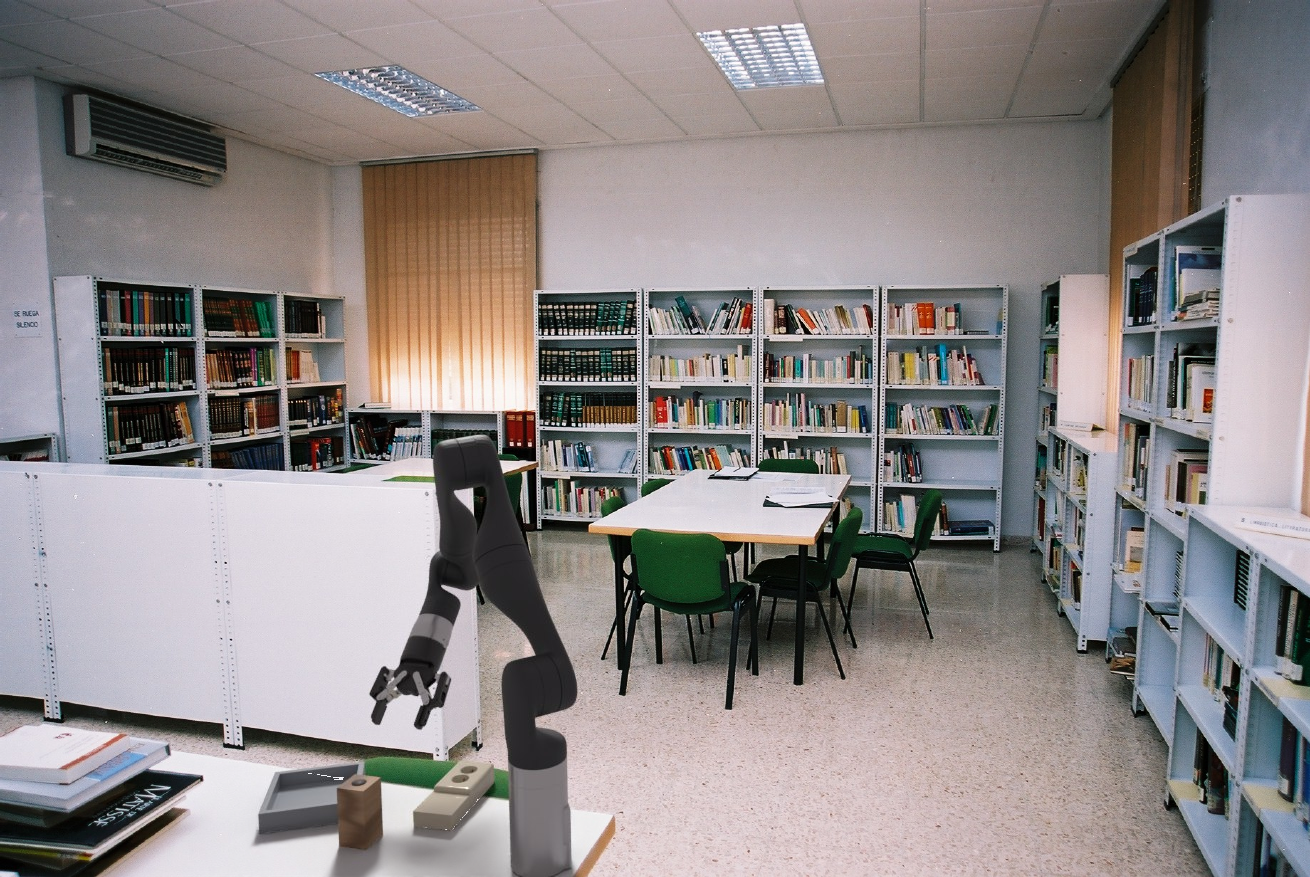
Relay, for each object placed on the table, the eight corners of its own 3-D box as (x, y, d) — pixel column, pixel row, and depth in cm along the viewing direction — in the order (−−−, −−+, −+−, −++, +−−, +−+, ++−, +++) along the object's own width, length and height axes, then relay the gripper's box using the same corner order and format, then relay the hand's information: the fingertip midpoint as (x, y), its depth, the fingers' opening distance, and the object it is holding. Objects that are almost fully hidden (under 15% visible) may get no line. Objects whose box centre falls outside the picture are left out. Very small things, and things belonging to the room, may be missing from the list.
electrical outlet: (412, 805, 145) (459, 759, 162) (413, 828, 145) (460, 780, 162) (451, 810, 143) (494, 762, 160) (451, 833, 143) (495, 783, 161)
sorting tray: (365, 778, 162) (364, 761, 162) (358, 820, 147) (357, 800, 147) (275, 790, 158) (275, 772, 158) (259, 833, 143) (258, 814, 143)
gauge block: (383, 834, 142) (380, 776, 142) (365, 850, 137) (363, 791, 137) (357, 830, 144) (355, 773, 143) (339, 846, 139) (336, 787, 138)
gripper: (386, 631, 160) (352, 713, 150) (454, 636, 156) (423, 720, 146) (402, 650, 165) (370, 730, 155) (468, 655, 162) (439, 737, 151)
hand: (396, 725), depth 151 cm, fingers open, 8 cm apart
